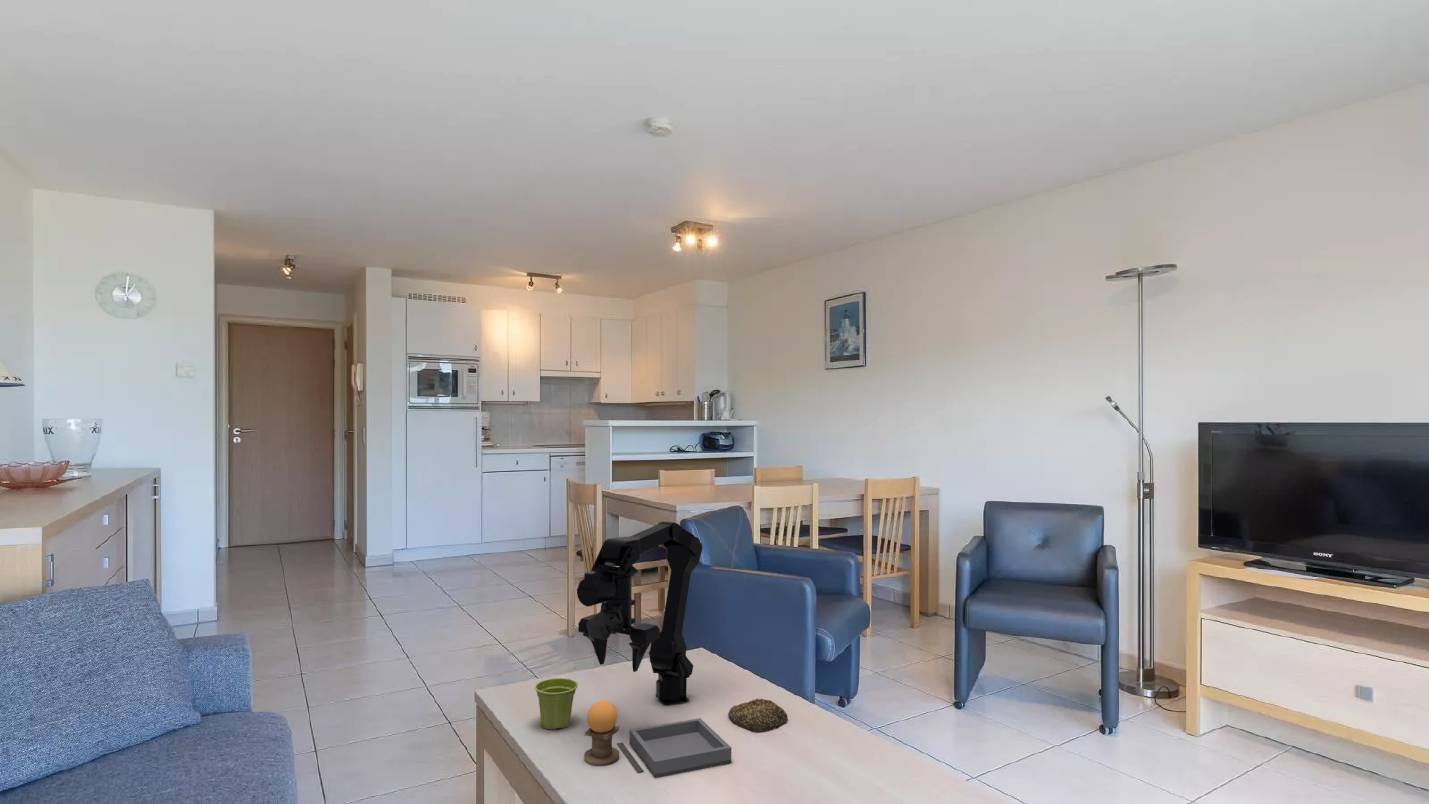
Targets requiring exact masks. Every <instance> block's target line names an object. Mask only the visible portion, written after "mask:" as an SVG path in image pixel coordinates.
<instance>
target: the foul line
mask: <svg viewBox="0 0 1429 804" xmlns="http://www.w3.org/2000/svg"><path fill="white" fill-rule="evenodd" d="M616 745H617V746H618V749H619V750H620V751H621V752H622V753H623V755H624V756H625V757H626V760H628V762H629V763H630V764H631V766H632V767H633V769H634V770H635V772H636V773H637V774H642V773H644V770H643V768H642V766H641V765H640V764H639V763H638V761H637V760H636V759H635V757H634V756H633V755H632V753H631V752H630V751H629V749H628V747H627V746H626V745H625V744H624V742H623V741H622V742H617V743H616Z"/></svg>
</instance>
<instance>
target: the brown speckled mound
mask: <svg viewBox="0 0 1429 804" xmlns="http://www.w3.org/2000/svg"><path fill="white" fill-rule="evenodd" d="M727 716H728V718H729V719H730V721H731V722H732V723H734V724H735V725H738V727H742V728H744V729H746V728H747V730H748V729H749V730H748V731H751V732H753V731H754V733H758V732H759V733H761V732H760V731H763V732H768V731H767V730H769V731H770V729H772V730H774V729H773V728H775V729H779V728H780V726H782V725H784V724H786V723H787V721H788V717H789V716H788V713H786V711H785V710H784V708H783V707H781V706H779V705H778V704H777V703H776V702H774V701H773V700H771V699H763V698H756V699H752V700H749V701H748V702H741V703H740V704H737V705H733V706H732V707H730V709H729V710H728V713H727ZM785 722H786V723H785ZM781 724H782V725H781Z"/></svg>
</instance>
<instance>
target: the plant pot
mask: <svg viewBox="0 0 1429 804" xmlns="http://www.w3.org/2000/svg"><path fill="white" fill-rule="evenodd" d="M578 686H579V683H578V682H577V681H576V680H574V679H571V678H565V677H554V678H548V679H542V680H540V681H539V682H537V683H536V684H534V690H535V691H536V695H537V697H538V706H539V713H540V724H541V726H542V728H543V729H547V730H556V729H564V728H566V727H568V726H569V725H570V723H571V717H572V716H571V715H572V710H573V709H572V708H573V702H574V698H575V697H574V695H575V694H576V690H577V688H578Z"/></svg>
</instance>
